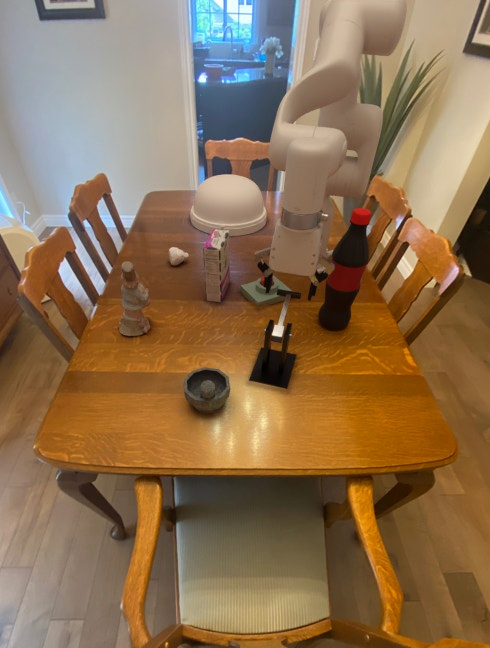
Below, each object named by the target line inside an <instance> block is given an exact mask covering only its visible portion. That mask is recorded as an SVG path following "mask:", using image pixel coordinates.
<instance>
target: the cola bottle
mask: <svg viewBox="0 0 490 648" xmlns="http://www.w3.org/2000/svg"><path fill="white" fill-rule="evenodd" d="M371 218H372V211H371V210H370V209H367V208H364V207H357V208H354V209H353V211H352V213H351V216H350V219H349V223H350V224H349V226H348V228H347V230H346V232H345V233H344V234H343V235H342V237H341V238H340V239H339V241H338V242H337V244H336V245H335V247H334V248H333V249H332V250H333V253H332V256H331V260H330V261H331V262H332V263H334V264H335V269H334V271H333V272H332V273H331V274H330V275H329V276H328V277H327V279H325V287H324V301H323V303H322V305H321V306H320V309H319V310H318V315H317V316H318V318H317V319H318V324H319V325H320V327H322V328H323V329H325V330H327V331H331V332H341V331H342V330H345V329H346V328H347V327H348V325H349V323H350V322H351V318H352V305H353V303H354V302H355V300H356V298H357V296H358V294H359V292H360V290H361V285H362V280H363V278H364V274H365V271H366V268H367V265H368V263H369V260H370V248H369V246H370V245H369V241H368V240H369V239H368V234H367V231H368V230H367V229H368V226H369V225H370V222H371Z"/></svg>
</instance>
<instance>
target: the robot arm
mask: <svg viewBox="0 0 490 648" xmlns="http://www.w3.org/2000/svg"><path fill="white" fill-rule="evenodd" d="M406 19H407V0H326V1H325V2H324V3H323V4H322V7H321V9H320V13H319V19H318V34H319V35H318V36H319V40H318V44H317V49H316V52H315V56H314V60H313V64H312V68H311V69H310V70H308V71H307V72H306V73H305V74H303V75H302V76H301V77H300V78H299V79H298V80H296V82H295V83H294V84H293V85H292V86H291V87H290V88H289V89H288V90H287V92H286V93H285V95H283V97H282V99H281V101H280V102H279V106H278V108H277V111H276V115H275V119H274V123H273V126H272V131H271V135H270V140H269V146H268V159H269V162H270V164H271V166H272V167H273V168H274V169H275V170H277V171H278V172H284V181H283V189H282V190H283V191H282V201H281V210H280V216H279V217H278V218H277V219H276V223H275V227H274V231H273V235H272V240H271V246H269V247H265V248H261V249H259V250H257V251H255V252H254V254H253V259H254V261H255V263H256V265H257V266H256V267H257V268H258V270H260V272H261V273H262V277H263V276H264V287H265V288H266V293H269V291H270V289H271V286H272V277H273V276H274V272H279V273H283V274H291V275H296V276H301V277H308V278H309V281H310V284H309V290H308V294H307V295H308V296H307V301H308V302H311V301H312V297H316V294H317V288H318V286H319V284H320V283H322V282H323V281H326V280H327V277H328V276H329V275H330V274H331V273H332V272H333V271H334V269H335V264H334V263H332V262H331V260H329V258H330V257H331V258H332V253H333V250H334V249H331V250H330V249H329V248H328V245H329V240H330V236H331V231H332V226H333V222H334V217H335V205H334V202H333V200H332V198H331V197H341V198H350V199H358V198H361V197H362V196H363V195H364V194H365V192H366V190H367V187H368V184H369V181H370V177H371V173H372V169H373V165H374V161H375V158H376V154H377V149H378V145H379V142H380V139H381V138H380V137H381V135H382V128H383V122H384V113H383V110H382V109H381V107H380V106H378V105H376V104H372V103H371V104H370V103H362V102H361V103H360V102H358V95H359V91H360V86H361V83H362V70H361V67H360V63H361V59H362V56H365V55H367V56H377V57H378V56H379V57H389V56H391V55H392V54H394V52H395V50H396V49H397V48H398V45H399V43H400V40H401V38H402V35H403V32H404V28H405V23H406ZM316 110H319V112H318V120H317V125H310V124H309V125H308V124H298V123H296V122H297V120H298V119H300V118H301V117H303V116H304V115H307V114H309V113H311V112H313V111H316ZM348 151H354V152H355V153H356V155H357V156H354V155H353V156H352V155H347V152H348ZM265 257H269V258H268V264H267V263H266V262H265V260H264V259H263V258H265Z"/></svg>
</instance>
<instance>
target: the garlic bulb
mask: <svg viewBox="0 0 490 648" xmlns="http://www.w3.org/2000/svg"><path fill="white" fill-rule="evenodd" d="M189 256H190V255H189V253H188V252H185V251H183V249H180V248H179V247H175V246H172V247H170V248H168V257H169V262H170V264H171V265H172V266H173V267H175V266H179V265H180V264H181V263H182V262H183V261H184V260H186V259H188V258H189Z"/></svg>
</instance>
